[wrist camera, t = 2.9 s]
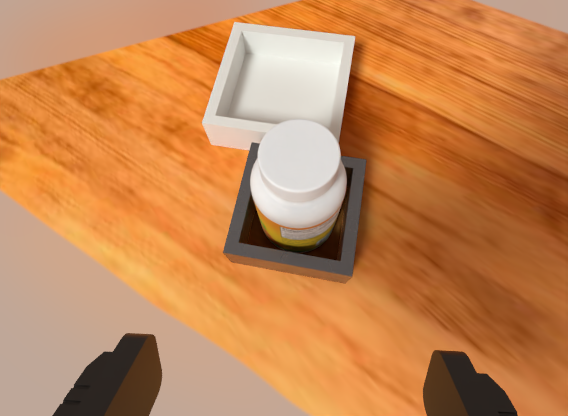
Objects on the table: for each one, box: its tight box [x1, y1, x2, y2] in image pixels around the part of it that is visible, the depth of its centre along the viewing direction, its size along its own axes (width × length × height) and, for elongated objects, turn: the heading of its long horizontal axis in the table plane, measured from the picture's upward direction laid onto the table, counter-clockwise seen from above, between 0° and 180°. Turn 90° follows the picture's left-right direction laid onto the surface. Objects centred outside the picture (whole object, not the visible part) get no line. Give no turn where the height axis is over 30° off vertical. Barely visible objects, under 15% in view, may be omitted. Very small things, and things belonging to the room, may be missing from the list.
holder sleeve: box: [223, 142, 366, 283], centre depth 24 cm, size 8×8×3 cm
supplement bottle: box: [250, 119, 347, 253], centre depth 21 cm, size 5×5×10 cm
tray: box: [202, 22, 355, 150], centre depth 27 cm, size 10×10×3 cm
